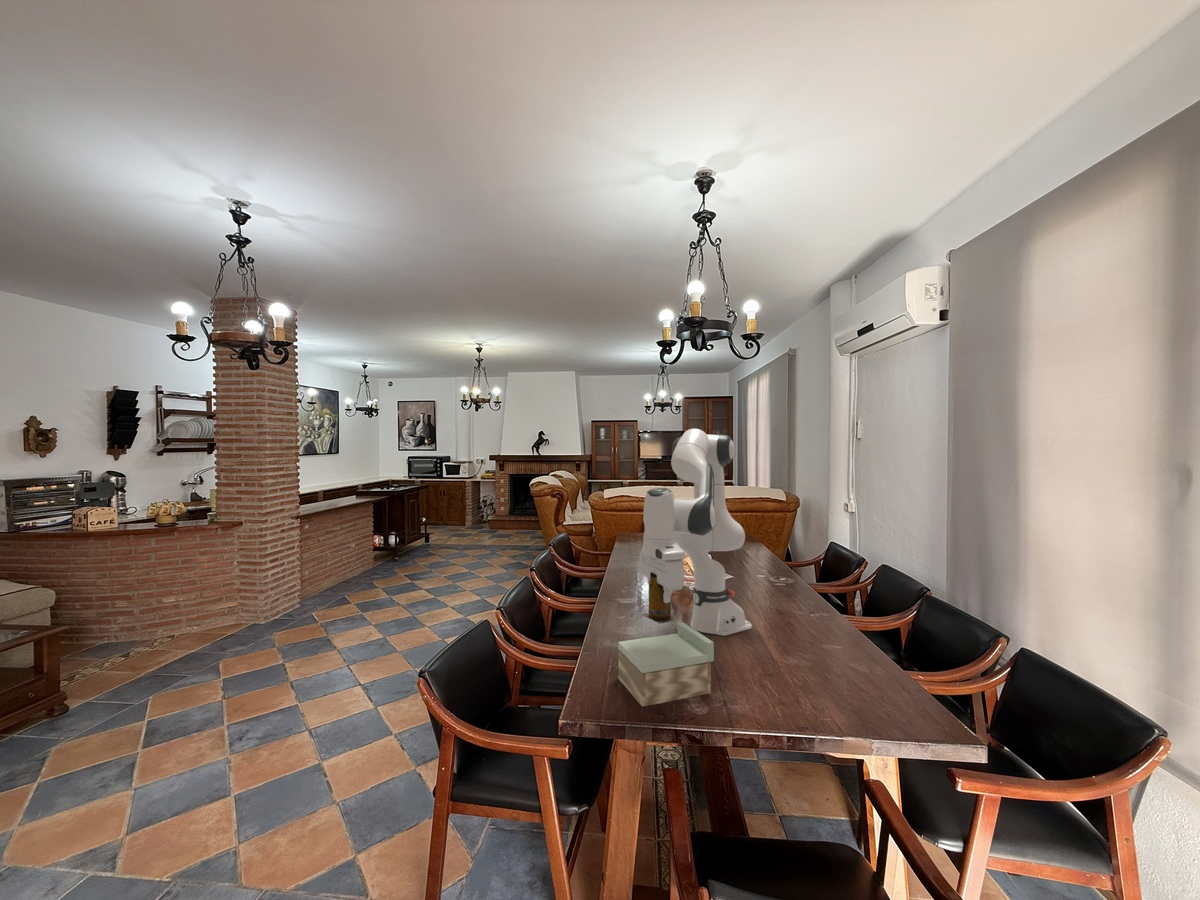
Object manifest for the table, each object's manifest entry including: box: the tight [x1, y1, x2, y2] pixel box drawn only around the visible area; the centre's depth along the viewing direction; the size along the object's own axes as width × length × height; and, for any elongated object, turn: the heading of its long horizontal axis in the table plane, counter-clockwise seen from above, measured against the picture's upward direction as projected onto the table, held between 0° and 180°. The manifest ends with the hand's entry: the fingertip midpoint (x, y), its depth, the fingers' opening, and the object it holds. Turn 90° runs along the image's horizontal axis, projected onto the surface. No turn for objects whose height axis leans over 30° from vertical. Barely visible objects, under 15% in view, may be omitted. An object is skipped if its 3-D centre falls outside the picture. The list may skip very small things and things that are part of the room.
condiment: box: [641, 572, 682, 624], centre depth 127 cm, size 7×8×12 cm
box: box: [617, 649, 712, 707], centre depth 128 cm, size 20×16×8 cm
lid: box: [617, 622, 715, 673], centre depth 128 cm, size 21×16×5 cm
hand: (659, 598), depth 128 cm, fingers closed on condiment, 6 cm apart
